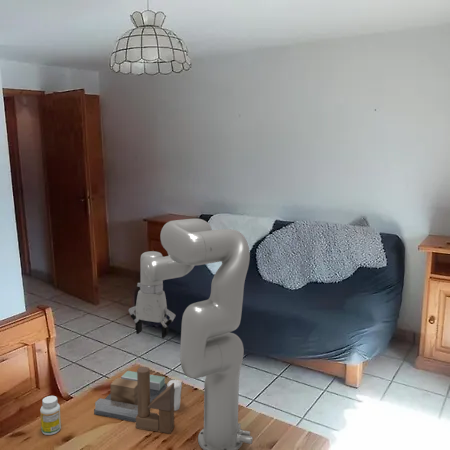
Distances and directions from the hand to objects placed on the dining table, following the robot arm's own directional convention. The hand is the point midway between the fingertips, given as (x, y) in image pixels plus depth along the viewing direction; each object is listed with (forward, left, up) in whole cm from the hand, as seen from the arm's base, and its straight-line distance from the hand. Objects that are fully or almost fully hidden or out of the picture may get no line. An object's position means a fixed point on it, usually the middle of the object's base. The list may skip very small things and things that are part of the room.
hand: (151, 334), depth 161 cm
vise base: (0, +16, -16) cm, 22 cm away
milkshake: (-15, +16, -16) cm, 27 cm away
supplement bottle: (+15, +37, -16) cm, 43 cm away
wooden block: (-13, +27, -16) cm, 34 cm away
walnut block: (0, +20, -15) cm, 25 cm away
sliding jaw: (0, +8, -14) cm, 16 cm away
